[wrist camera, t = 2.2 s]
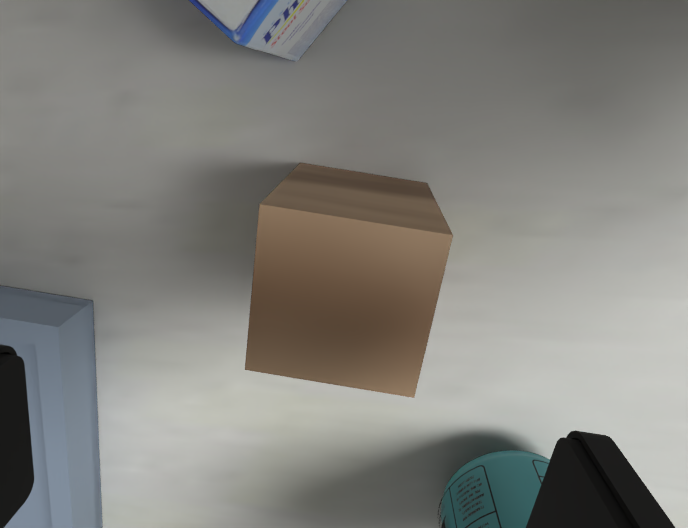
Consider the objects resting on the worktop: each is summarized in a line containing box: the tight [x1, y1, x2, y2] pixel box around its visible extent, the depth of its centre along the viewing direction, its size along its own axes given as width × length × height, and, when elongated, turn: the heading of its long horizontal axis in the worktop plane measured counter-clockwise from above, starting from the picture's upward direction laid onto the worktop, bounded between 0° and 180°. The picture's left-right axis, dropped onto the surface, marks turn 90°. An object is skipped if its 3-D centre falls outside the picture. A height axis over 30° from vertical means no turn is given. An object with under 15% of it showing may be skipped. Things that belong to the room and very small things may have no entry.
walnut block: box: [245, 163, 453, 398], centre depth 17 cm, size 5×5×7 cm
